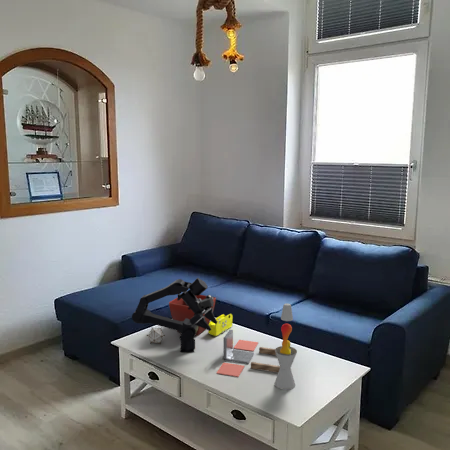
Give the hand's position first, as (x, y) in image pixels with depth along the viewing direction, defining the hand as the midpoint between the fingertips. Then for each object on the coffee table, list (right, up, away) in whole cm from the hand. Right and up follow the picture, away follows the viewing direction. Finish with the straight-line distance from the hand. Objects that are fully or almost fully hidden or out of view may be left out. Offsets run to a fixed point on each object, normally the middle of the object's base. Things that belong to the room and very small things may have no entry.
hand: (213, 326), depth 220 cm
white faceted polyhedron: (-29, -11, +14) cm, 34 cm away
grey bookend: (+12, -14, -1) cm, 19 cm away
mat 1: (+8, -16, -14) cm, 23 cm away
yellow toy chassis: (+3, -9, +29) cm, 30 cm away
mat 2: (+16, -12, +11) cm, 22 cm away
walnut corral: (+26, -15, -6) cm, 31 cm away
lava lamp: (+30, -19, -25) cm, 44 cm away
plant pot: (-12, -8, +30) cm, 33 cm away
